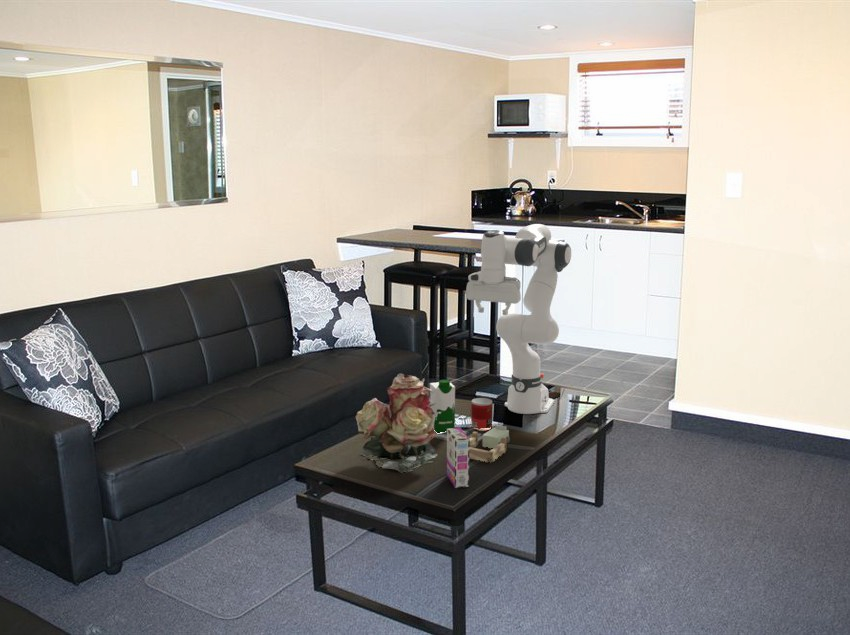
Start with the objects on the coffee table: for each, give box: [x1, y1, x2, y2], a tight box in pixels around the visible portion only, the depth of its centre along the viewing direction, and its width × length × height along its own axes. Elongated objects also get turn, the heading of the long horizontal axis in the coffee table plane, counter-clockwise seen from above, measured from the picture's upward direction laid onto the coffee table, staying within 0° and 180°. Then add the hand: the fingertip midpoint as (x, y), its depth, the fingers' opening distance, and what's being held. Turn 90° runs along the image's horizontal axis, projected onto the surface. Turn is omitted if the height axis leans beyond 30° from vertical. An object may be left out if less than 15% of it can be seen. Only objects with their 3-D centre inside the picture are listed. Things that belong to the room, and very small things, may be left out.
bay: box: [469, 431, 508, 464], centre depth 285 cm, size 12×13×5 cm
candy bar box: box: [446, 427, 470, 489], centre depth 261 cm, size 11×5×16 cm, turn 13°
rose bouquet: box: [354, 373, 438, 474], centre depth 279 cm, size 26×29×30 cm
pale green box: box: [481, 424, 511, 449], centre depth 294 cm, size 9×7×6 cm
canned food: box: [470, 397, 493, 428], centre depth 309 cm, size 8×8×11 cm
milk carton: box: [429, 379, 456, 434], centre depth 307 cm, size 9×9×20 cm
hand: (493, 313), depth 296 cm, fingers open, 8 cm apart
